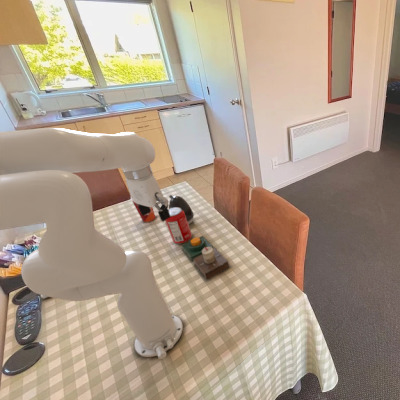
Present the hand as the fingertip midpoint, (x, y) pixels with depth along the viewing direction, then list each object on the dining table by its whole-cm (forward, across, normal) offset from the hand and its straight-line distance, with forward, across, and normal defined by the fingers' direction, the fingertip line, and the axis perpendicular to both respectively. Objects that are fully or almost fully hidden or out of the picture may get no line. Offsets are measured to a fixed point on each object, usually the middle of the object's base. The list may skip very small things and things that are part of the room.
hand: (156, 216), depth 94 cm
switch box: (+23, +3, +10) cm, 25 cm away
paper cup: (+23, -38, +18) cm, 48 cm away
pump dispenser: (+23, -18, +22) cm, 37 cm away
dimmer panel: (+23, +14, +5) cm, 27 cm away
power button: (+19, +3, +10) cm, 22 cm away
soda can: (+23, -9, +12) cm, 28 cm away
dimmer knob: (+20, +14, +5) cm, 25 cm away
